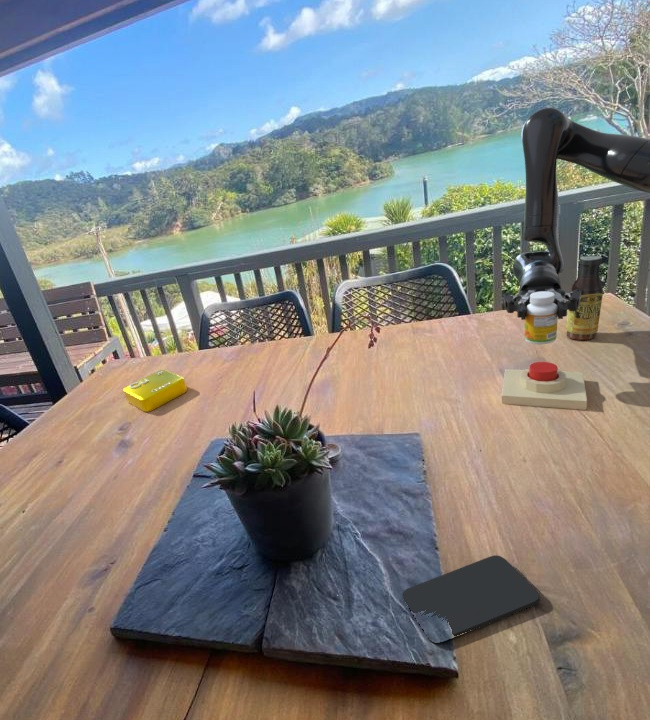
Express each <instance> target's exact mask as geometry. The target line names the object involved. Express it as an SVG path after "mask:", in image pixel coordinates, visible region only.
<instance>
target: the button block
mask: <svg viewBox="0 0 650 720" xmlns="http://www.w3.org/2000/svg"><path fill="white" fill-rule="evenodd" d="M502 384H503V385H502V390H501V404H502V405H516V406H528V407H529V406H530V407H540V408H541V407H542V408H555V409H566V410H567V409H569V410H581V411H582V410H583V411H587V409H588V397H587V392H586V391H587V390H586V382H585V377H584V372H583V371H566V370H565V371H563V370H561V369H559V368H558V371H557V379H556V380H554V381H548V382H544V381H536V380H533V379H531V378H529V367H527V368H526V369H515V368H514V369H511V368H509V369H508V368H505V369H504V375H503V383H502Z"/></svg>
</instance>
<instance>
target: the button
mask: <svg viewBox="0 0 650 720" xmlns="http://www.w3.org/2000/svg"><path fill="white" fill-rule="evenodd" d="M528 368H529V378H531V379H533V380H536V381H544V382H548V381H554V380H556V379H557V371H558V369H559V367H558V365H556V364H555V363H552V362H550V361H549V362H548V361H537V362H533V363H530V365H529V367H528Z"/></svg>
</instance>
